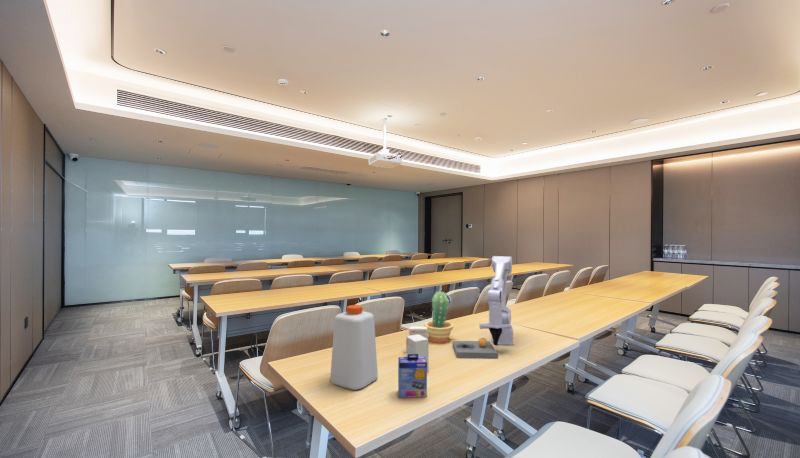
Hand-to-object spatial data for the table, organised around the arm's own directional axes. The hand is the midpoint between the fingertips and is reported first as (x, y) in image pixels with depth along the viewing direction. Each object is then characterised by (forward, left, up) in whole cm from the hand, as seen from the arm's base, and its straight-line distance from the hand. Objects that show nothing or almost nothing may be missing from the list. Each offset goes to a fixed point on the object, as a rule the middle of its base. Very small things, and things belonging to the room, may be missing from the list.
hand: (495, 344), depth 157 cm
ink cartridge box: (+39, +42, -4) cm, 57 cm away
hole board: (+10, 0, -4) cm, 11 cm away
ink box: (+36, +2, -4) cm, 36 cm away
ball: (+6, 0, +1) cm, 6 cm away
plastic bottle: (+61, +32, -4) cm, 69 cm away
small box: (+37, +21, -4) cm, 43 cm away
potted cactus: (+25, -17, -4) cm, 31 cm away
